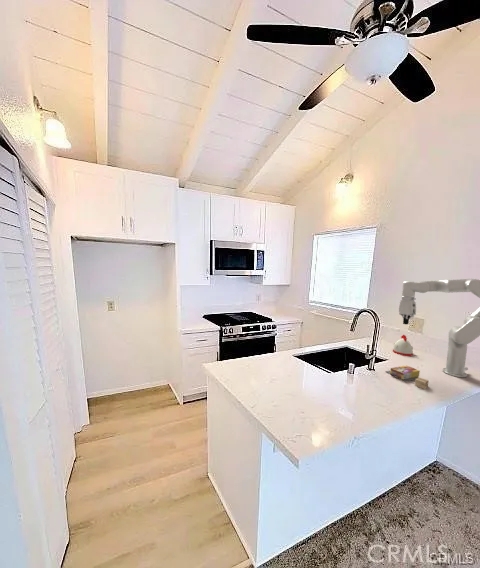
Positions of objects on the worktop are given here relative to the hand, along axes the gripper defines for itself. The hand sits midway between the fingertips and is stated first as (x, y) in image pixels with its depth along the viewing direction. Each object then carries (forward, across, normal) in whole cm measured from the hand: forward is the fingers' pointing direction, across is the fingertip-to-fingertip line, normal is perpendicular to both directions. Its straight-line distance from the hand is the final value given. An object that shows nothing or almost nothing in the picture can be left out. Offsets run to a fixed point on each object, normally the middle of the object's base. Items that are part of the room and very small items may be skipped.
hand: (405, 324), depth 183 cm
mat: (+29, -16, +18) cm, 38 cm away
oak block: (+29, -30, +21) cm, 47 cm away
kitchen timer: (+29, +18, -22) cm, 41 cm away
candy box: (+27, -16, +10) cm, 33 cm away
